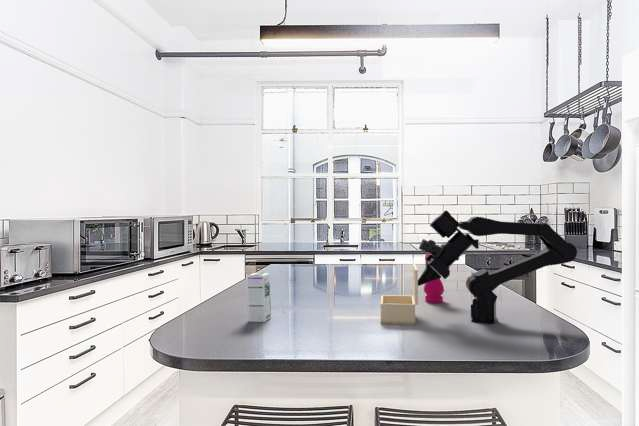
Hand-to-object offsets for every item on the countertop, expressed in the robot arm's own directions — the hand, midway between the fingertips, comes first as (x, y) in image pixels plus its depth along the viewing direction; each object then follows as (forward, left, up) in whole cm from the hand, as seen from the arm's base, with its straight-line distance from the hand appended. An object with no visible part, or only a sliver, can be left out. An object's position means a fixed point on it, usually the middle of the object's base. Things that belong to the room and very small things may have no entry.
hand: (417, 284), depth 142 cm
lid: (+1, 0, 0) cm, 1 cm away
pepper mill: (+4, -29, -11) cm, 31 cm away
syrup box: (+44, +23, -11) cm, 50 cm away
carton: (+6, +2, -11) cm, 12 cm away
